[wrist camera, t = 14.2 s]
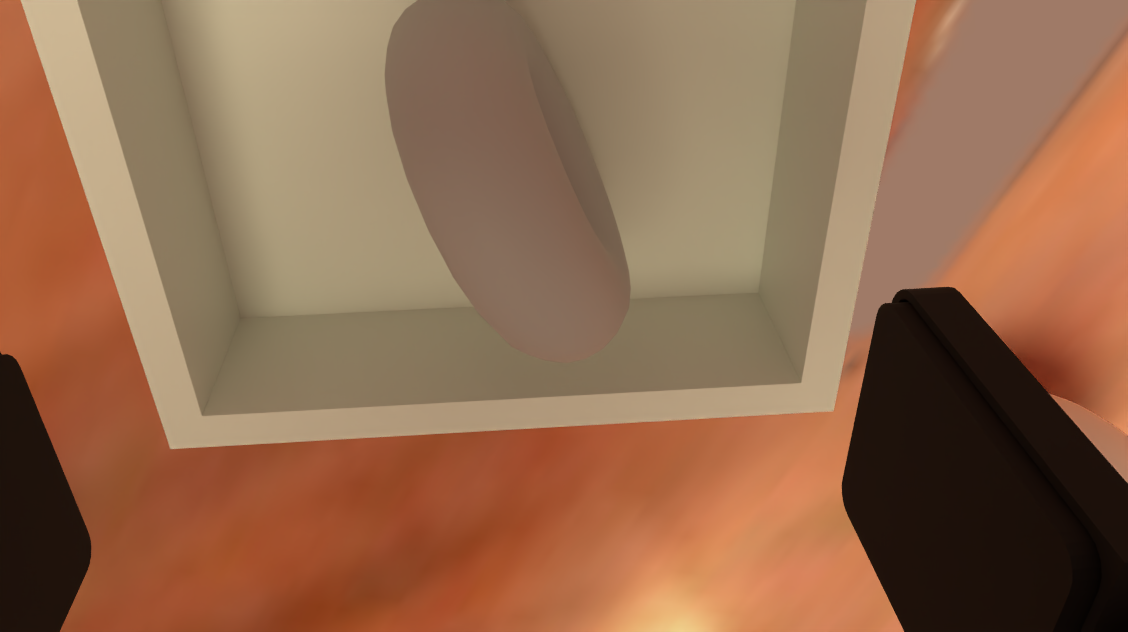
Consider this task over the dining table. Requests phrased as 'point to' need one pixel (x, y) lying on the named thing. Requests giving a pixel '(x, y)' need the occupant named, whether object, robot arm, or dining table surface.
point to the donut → (505, 177)
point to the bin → (400, 236)
